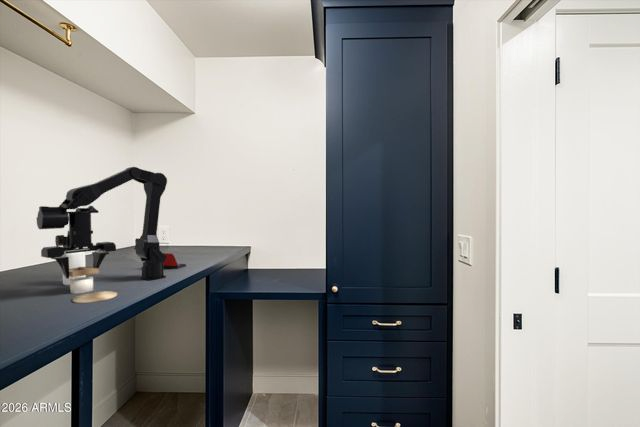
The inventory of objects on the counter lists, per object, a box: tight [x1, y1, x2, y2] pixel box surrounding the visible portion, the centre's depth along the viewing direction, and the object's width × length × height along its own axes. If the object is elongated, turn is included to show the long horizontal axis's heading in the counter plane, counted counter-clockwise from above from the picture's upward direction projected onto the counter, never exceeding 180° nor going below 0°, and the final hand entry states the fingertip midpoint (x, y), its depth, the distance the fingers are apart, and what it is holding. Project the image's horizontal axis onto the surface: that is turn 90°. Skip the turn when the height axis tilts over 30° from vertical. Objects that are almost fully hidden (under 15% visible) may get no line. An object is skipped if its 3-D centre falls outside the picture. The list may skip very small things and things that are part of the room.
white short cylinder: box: [69, 276, 94, 295], centre depth 105 cm, size 6×6×4 cm
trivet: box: [72, 290, 118, 304], centre depth 98 cm, size 11×11×1 cm
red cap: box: [162, 252, 187, 270], centre depth 145 cm, size 12×11×7 cm
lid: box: [62, 265, 100, 277], centre depth 105 cm, size 7×7×2 cm
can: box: [62, 252, 87, 286], centre depth 116 cm, size 6×6×12 cm
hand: (81, 276), depth 105 cm, fingers closed on lid, 7 cm apart
